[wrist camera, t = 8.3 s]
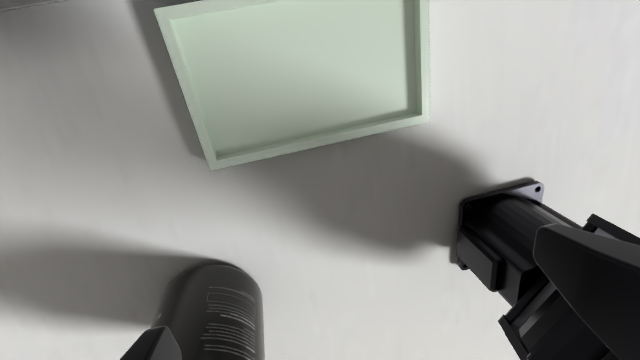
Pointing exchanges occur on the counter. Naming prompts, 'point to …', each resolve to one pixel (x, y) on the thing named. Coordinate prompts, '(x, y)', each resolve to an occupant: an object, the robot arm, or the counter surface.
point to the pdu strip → (22, 3)
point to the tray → (297, 72)
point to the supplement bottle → (214, 314)
